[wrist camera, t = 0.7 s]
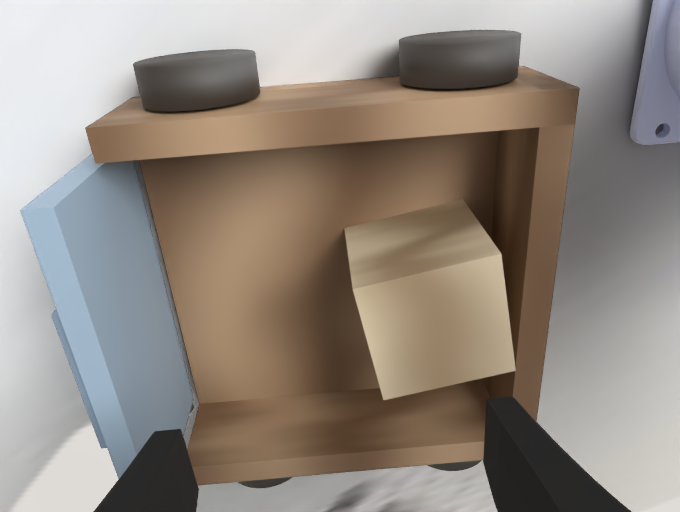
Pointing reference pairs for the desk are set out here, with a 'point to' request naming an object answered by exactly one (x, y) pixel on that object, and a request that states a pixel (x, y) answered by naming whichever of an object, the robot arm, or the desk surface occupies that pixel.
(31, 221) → the panel
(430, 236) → the block
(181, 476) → the robot arm
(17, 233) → the desk surface
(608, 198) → the desk surface
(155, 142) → the truck bed
